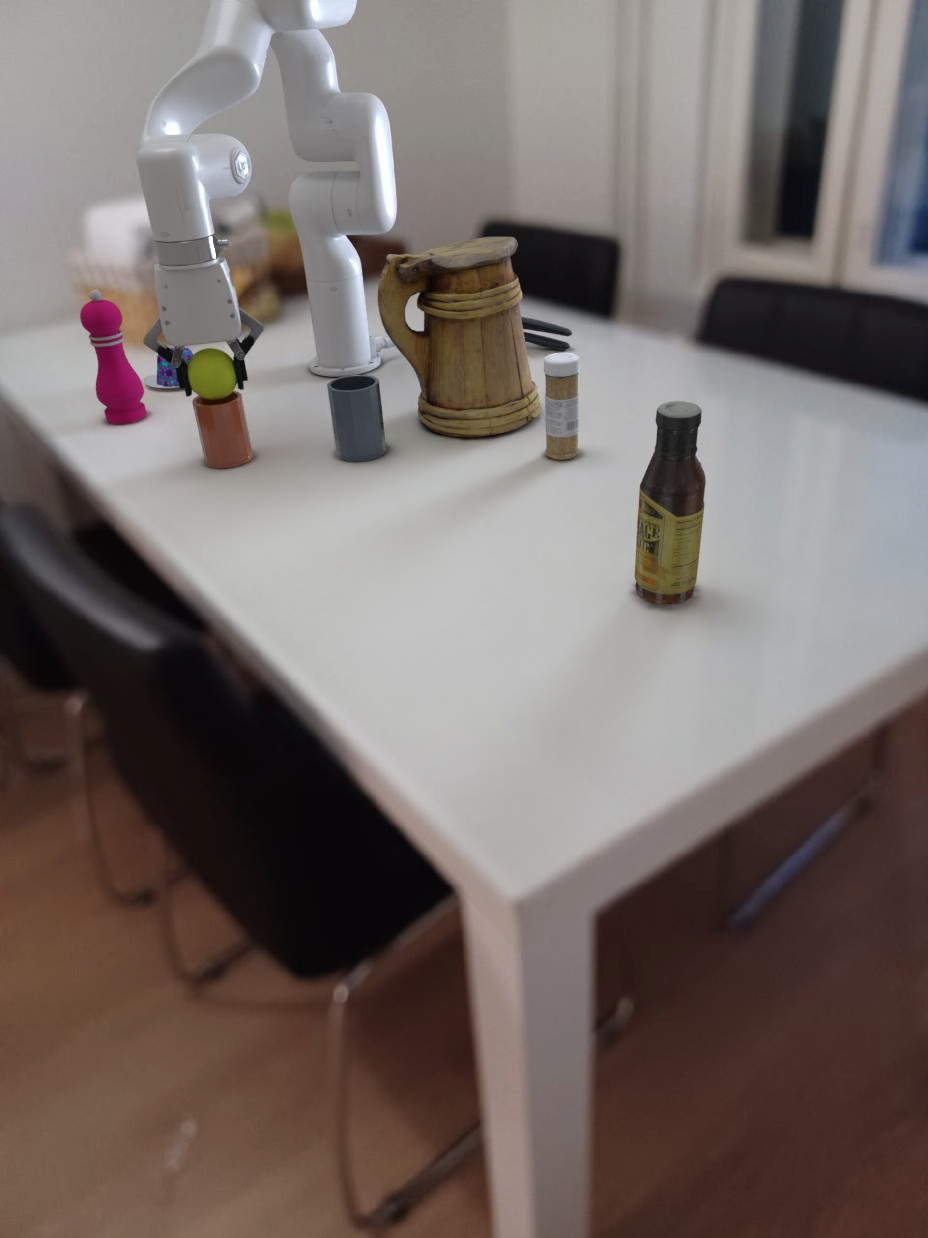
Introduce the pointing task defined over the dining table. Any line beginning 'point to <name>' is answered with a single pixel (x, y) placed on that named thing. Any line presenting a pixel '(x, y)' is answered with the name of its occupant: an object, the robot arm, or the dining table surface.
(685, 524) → the sauce bottle
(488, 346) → the tankard
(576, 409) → the sprinkles bottle
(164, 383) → the pudding
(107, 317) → the pepper mill
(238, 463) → the terracotta cup
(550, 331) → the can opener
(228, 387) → the ball
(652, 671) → the dining table surface
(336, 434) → the grey cup
